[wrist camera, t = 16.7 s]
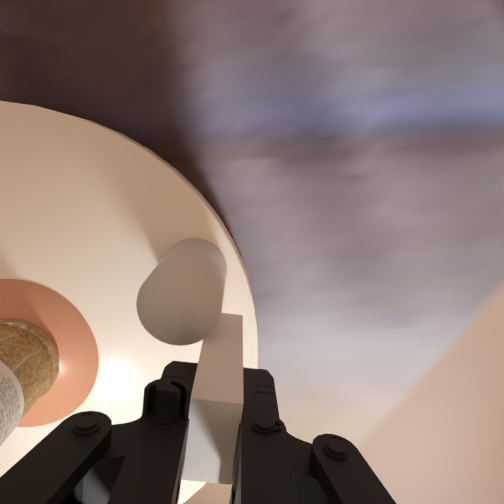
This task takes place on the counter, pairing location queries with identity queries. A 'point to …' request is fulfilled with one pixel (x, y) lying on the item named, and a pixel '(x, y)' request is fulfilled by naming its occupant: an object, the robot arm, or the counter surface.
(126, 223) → the disc
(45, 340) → the sprinkles bottle
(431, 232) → the counter surface
